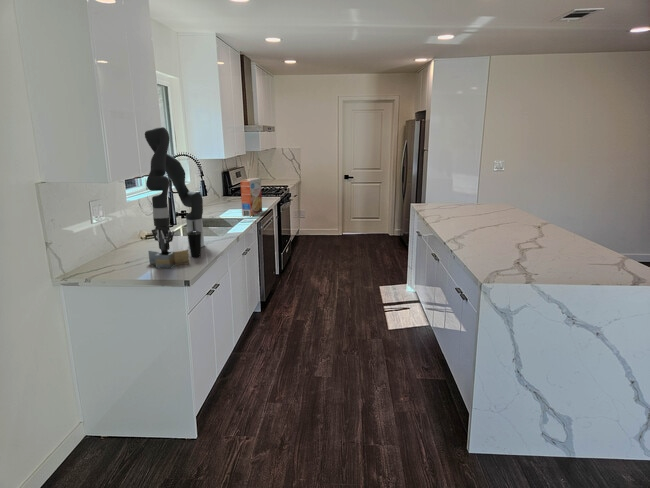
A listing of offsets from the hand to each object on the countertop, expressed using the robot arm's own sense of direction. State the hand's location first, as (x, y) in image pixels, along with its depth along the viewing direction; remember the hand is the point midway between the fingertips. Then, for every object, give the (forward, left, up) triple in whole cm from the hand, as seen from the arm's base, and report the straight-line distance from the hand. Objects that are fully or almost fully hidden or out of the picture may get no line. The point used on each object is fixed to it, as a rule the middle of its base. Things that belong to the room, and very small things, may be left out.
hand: (164, 249), depth 217 cm
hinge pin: (0, 0, -5) cm, 5 cm away
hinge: (-2, -1, -9) cm, 9 cm away
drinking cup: (-19, +8, -9) cm, 23 cm away
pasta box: (-151, +3, -9) cm, 151 cm away
